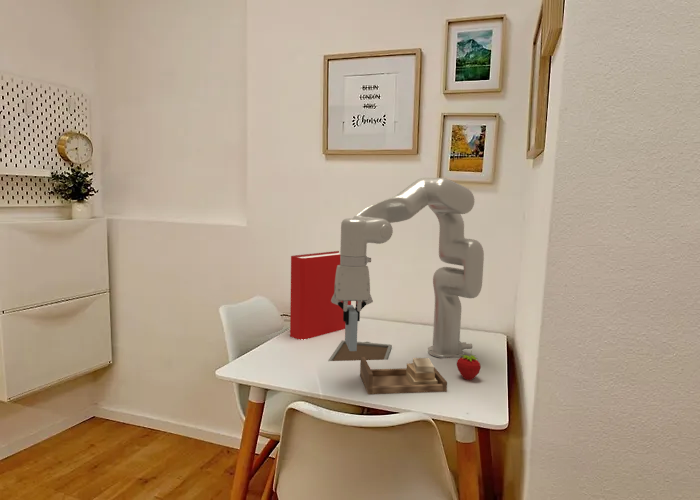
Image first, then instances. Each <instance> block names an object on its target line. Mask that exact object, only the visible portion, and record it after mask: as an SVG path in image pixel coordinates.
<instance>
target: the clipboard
mask: <svg viewBox="0 0 700 500" xmlns="http://www.w3.org/2000/svg"><path fill="white" fill-rule="evenodd" d="M392 346H393V344H388V343H376V342H371V341H357V351H349V349H348V346H347V344H346V342H345V339H344V340H341V341H340V343H339V344H338V345H337V347H336V349H335V350H334V351H333V352H332V353H331V356H330V357H329V358H328V360H327V361H328V362H345V361H346V362H352V361H354V362H355V361H361V357H365V359H366V361H386V360H389V356H390V354H391V350H392V348H393V347H392Z"/></svg>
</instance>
